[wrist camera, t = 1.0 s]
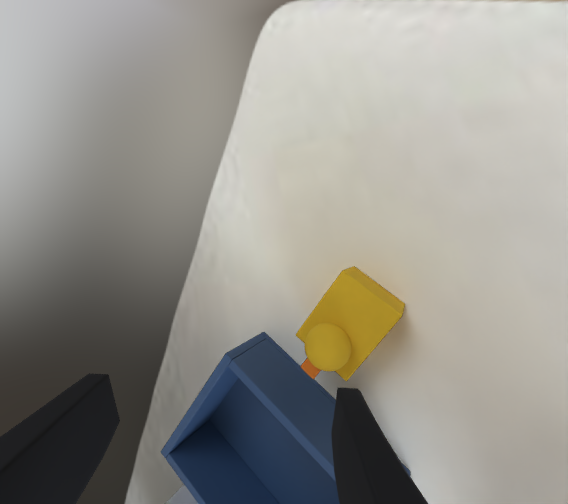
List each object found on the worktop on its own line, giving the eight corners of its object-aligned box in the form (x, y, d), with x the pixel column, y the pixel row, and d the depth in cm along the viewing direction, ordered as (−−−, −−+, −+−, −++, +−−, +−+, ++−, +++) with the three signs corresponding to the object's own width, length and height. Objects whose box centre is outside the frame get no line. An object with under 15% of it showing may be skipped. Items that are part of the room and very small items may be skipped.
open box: (410, 471, 19) (407, 545, 14) (321, 554, 21) (295, 637, 17) (263, 331, 23) (225, 353, 18) (205, 415, 26) (160, 452, 21)
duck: (405, 304, 18) (399, 326, 13) (351, 368, 20) (328, 410, 15) (354, 265, 20) (331, 273, 15) (306, 329, 21) (272, 355, 16)
